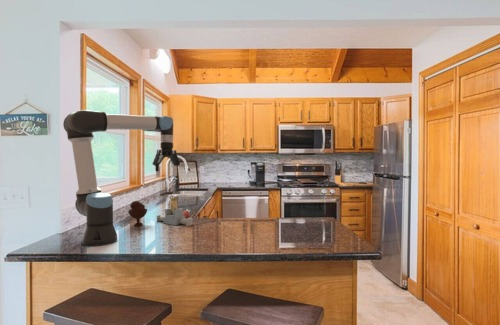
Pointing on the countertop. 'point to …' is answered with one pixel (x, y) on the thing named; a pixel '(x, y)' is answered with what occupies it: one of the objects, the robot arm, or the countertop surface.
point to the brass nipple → (173, 204)
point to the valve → (176, 217)
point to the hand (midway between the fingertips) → (166, 176)
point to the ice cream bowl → (137, 211)
